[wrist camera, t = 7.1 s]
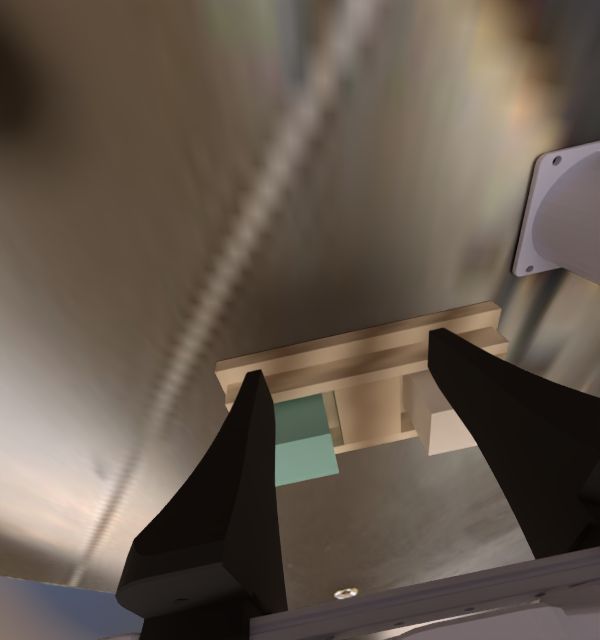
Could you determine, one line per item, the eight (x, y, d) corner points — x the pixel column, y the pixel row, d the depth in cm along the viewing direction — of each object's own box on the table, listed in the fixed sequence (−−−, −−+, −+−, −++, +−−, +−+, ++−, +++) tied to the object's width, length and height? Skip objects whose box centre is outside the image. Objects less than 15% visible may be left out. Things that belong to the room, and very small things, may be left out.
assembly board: (491, 300, 23) (520, 323, 21) (472, 402, 30) (492, 429, 27) (216, 361, 24) (211, 391, 21) (257, 449, 30) (257, 480, 28)
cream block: (463, 351, 24) (504, 397, 20) (457, 393, 27) (492, 441, 23) (402, 364, 24) (431, 413, 20) (403, 404, 27) (428, 455, 23)
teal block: (318, 380, 24) (330, 433, 20) (327, 419, 27) (339, 473, 23) (258, 393, 25) (258, 448, 20) (273, 431, 27) (275, 486, 23)
